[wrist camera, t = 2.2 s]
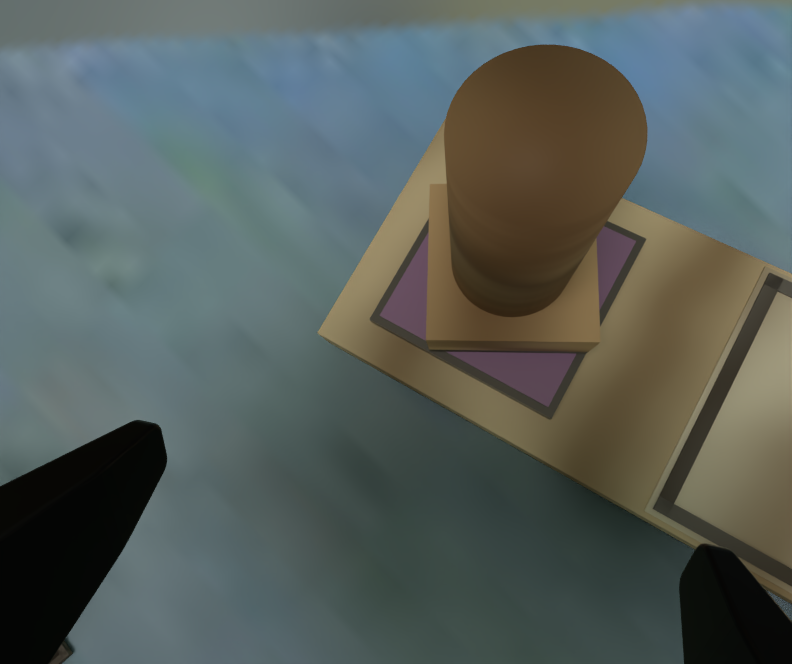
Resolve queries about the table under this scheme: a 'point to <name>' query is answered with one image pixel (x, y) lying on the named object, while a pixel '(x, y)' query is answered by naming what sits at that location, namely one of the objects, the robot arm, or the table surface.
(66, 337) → the table surface
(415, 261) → the ink pad
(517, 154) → the stamp
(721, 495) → the board
